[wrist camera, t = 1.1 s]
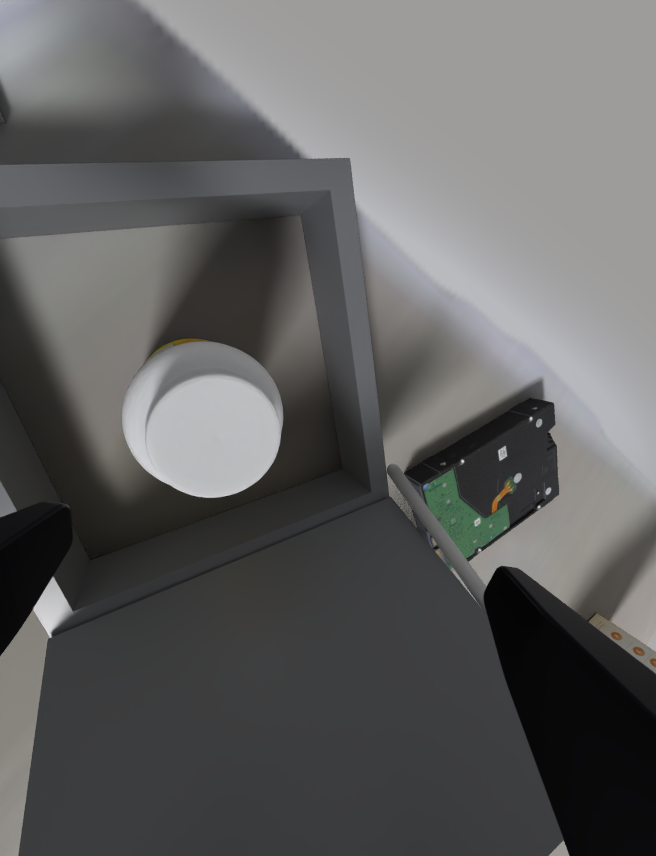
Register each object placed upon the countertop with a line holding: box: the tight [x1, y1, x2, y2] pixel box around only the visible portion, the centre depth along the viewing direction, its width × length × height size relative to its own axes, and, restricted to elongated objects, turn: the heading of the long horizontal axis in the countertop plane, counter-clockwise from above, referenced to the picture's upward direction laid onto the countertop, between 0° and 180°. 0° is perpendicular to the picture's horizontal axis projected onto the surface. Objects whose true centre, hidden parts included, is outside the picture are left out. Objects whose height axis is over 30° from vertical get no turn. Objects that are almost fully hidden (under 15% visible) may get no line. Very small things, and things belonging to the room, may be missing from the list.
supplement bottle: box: [122, 338, 283, 498], centre depth 15 cm, size 6×6×10 cm
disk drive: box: [404, 398, 559, 571], centre depth 30 cm, size 10×3×15 cm
